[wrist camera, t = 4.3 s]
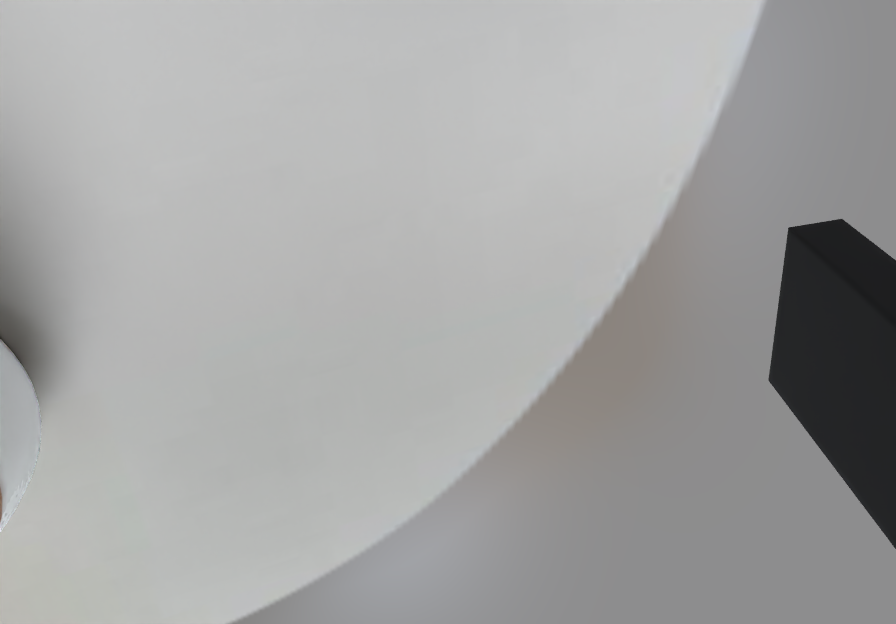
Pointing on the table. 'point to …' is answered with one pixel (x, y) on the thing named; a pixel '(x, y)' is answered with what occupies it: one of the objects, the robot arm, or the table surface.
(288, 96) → the table surface
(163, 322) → the table surface
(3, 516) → the lidded bowl
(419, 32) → the table surface
